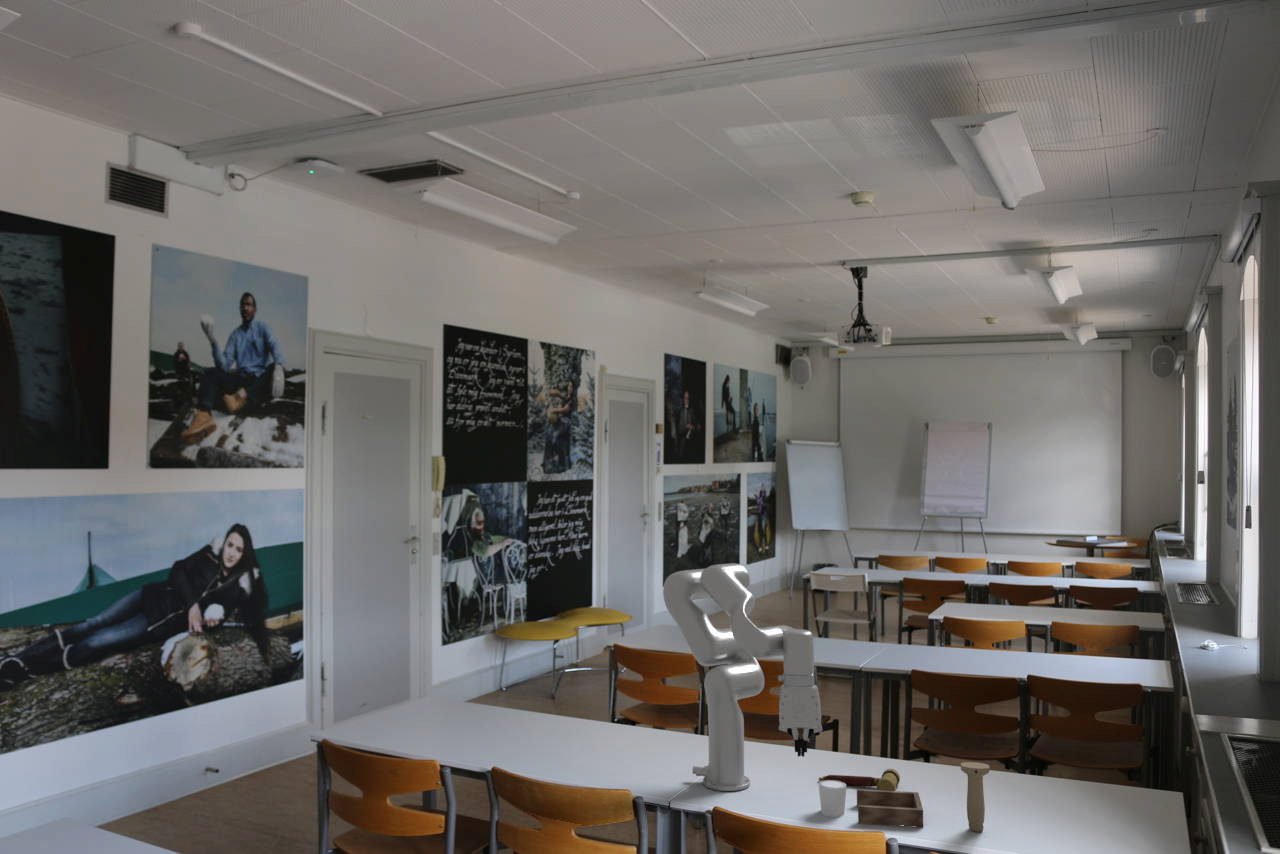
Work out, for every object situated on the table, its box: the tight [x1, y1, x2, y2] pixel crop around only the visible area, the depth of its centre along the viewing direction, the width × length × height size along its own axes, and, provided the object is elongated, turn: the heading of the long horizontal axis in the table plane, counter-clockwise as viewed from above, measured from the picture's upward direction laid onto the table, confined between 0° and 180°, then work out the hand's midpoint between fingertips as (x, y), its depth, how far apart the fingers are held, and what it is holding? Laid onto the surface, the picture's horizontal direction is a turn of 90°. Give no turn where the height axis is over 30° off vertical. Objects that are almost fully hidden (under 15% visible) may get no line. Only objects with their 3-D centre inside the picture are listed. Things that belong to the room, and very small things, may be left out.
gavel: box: [818, 768, 901, 791], centre depth 266 cm, size 21×5×10 cm
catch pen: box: [856, 788, 924, 828], centre depth 244 cm, size 15×13×4 cm
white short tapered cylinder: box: [818, 780, 847, 817], centre depth 246 cm, size 7×7×7 cm
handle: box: [960, 761, 991, 833], centre depth 234 cm, size 5×6×15 cm
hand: (801, 754), depth 248 cm, fingers closed
